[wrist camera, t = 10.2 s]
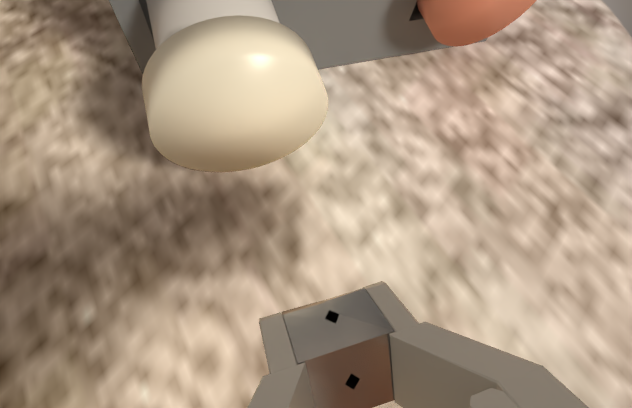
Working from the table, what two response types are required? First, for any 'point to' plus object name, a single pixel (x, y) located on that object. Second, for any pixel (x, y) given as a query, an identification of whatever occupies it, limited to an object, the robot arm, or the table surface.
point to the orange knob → (469, 18)
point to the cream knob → (228, 85)
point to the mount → (317, 29)
